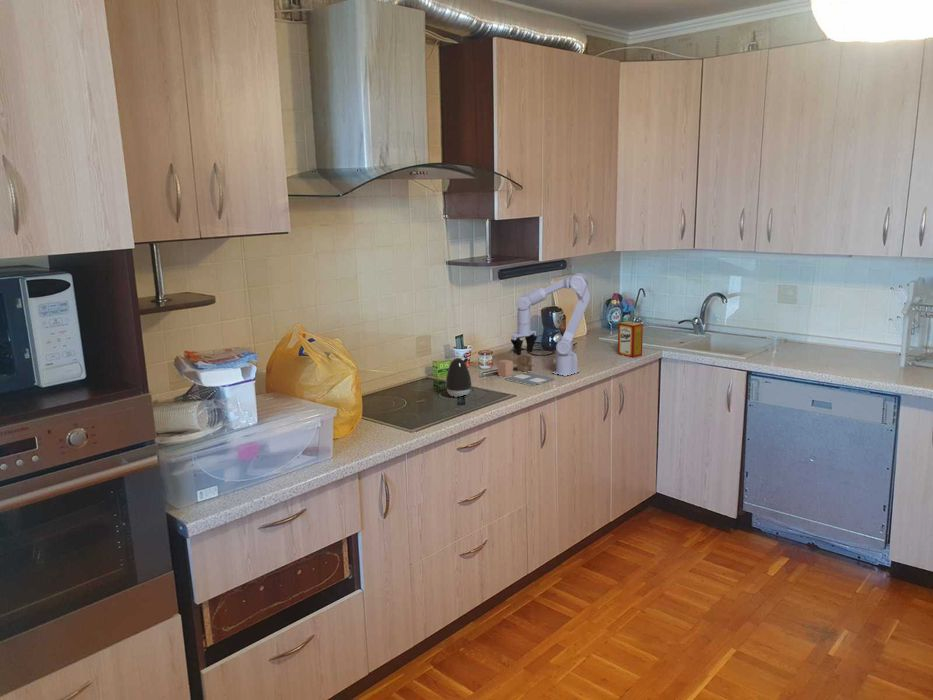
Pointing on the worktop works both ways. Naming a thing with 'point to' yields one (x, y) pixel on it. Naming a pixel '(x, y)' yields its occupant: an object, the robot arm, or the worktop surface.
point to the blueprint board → (530, 378)
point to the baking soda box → (630, 339)
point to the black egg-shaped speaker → (458, 378)
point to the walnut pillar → (524, 363)
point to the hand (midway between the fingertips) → (524, 353)
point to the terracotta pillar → (505, 368)
